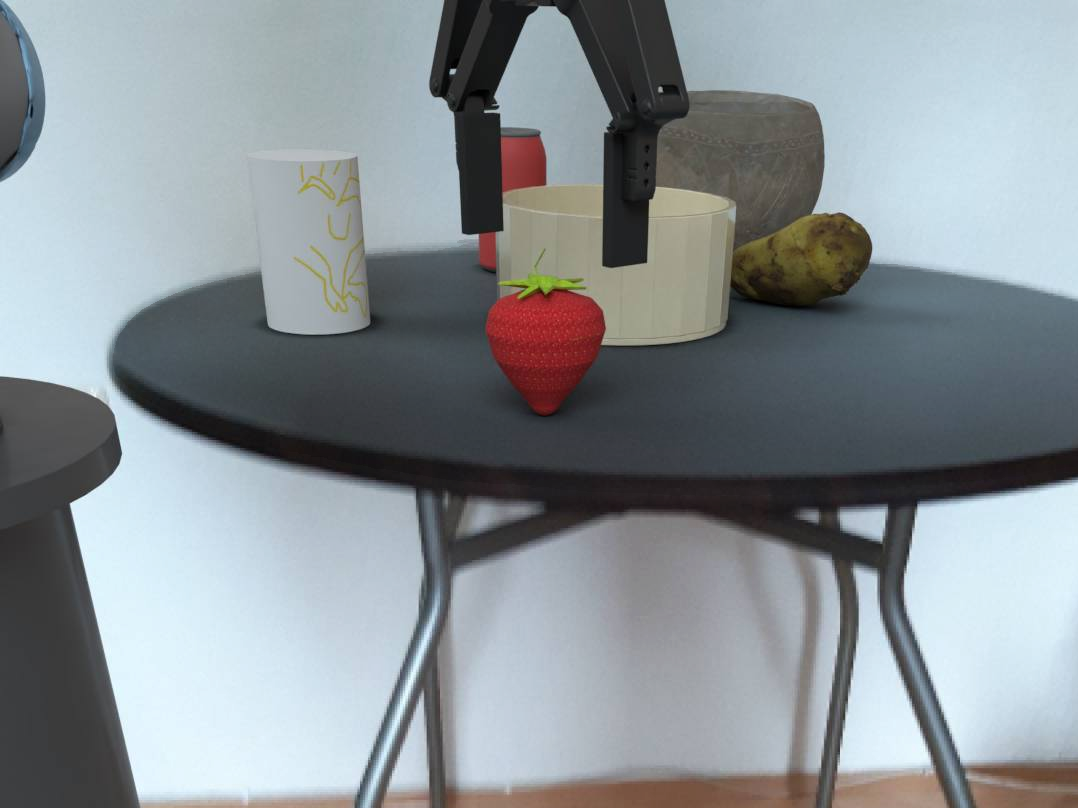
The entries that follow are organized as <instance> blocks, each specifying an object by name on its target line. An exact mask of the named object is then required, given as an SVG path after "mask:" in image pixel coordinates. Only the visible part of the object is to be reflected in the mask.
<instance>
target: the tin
mask: <svg viewBox="0 0 1078 808" xmlns="http://www.w3.org/2000/svg"><path fill="white" fill-rule="evenodd" d="M735 218H736V202H735V201H733V200H731V199H729V198H727V197H723V196H719V195H716V194H711V193H706V192H700V191H694V190H688V189H679V188H670V187H658V186H656V190H655V193H654V197H653V199H651V200H649V226H648V256H647V263H644V264H637V265H630V266H623V267H616V268H608V267H604V266H602V240H603V183H570V184H569V183H568V184H567V183H566V184H547V185H546V186H533V187H526V188H519V189H513V190H509V191H506V192H503V225H504V231H500V232H496V272H497V273H496V302H497V301H498V300H499V299H500V298H502V297H505V296H508V295H511V294H514V293H516V292H519V291H522V290H524V289H526V288H519V287H510V286H504V285H499V282H504V281H514V280H523V279H529V278H528V273H529V274H535V275H536V272H535V269H534V266H535V264H536V262H537V260H538V259H539V257H540V255H541V253H542V252H543V250H544V249H545V248H546V250H545V252H544V254H543V255H542V257H541V259H540V260H539V262H538V264H537V266H536V269H537V272H538V275H541V276H553V277H558V279H578V278H583V281H581V282H577V283H574V284H577V285H580V286H583V287H586V289H582V290H569V291H572V292H575V293H578V294H581V295H584V296H588V297H590V298H592V299H593V300H594V301H595V302H596V303H597V304H598V305H599V307H600V308H601V309H602V310H603V314H604V320H605V326H606V331H605V334H604V337H603V340H602V343H601V346H616V347H617V346H619V347H620V346H623V347H624V346H625V347H626V346H627V347H628V346H637V347H638V346H656V345H668V344H670V345H671V344H678V343H684V342H690V341H691V342H692V341H695V340H700V339H704V338H708V337H710V336H713V335H716V334H718V333H719V332H721V331H723V330H724V329H725V328H726V326H727V323H728V316H729V305H730V293H731V286H730V281H731V268H732V256H733V243H734V230H735Z"/></svg>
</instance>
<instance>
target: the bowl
mask: <svg viewBox="0 0 1078 808" xmlns="http://www.w3.org/2000/svg"><path fill="white" fill-rule="evenodd" d="M659 93H663V91H659ZM687 94H688V98H689V104H690V106H689V111H688V114H687V116H686V117H685V118H682V119H675V120H673V121H671V122H669V123H667V124H665V125H663V127H662V128H661V129H660V131H659V133H658V139H657V164H656V177H655V178H656V186H658V187H670V188H679V189H688V190H694V191H700V192H706V193H711V194H716V195H719V196H723V197H727V198H729V199H731V200H733V201H735V202H736V218H735V230H734V243H733V252H734V251H735V250H736V249H737V248H739V247H741V246H743V245H745V244H747V243H749V242H752V241H754V240H757V239H761V238H763V237H766V236H767V235H771V234H773V233H775V232H777V231H779V230H781V229H783V228H785V227H787V226H788V225H790V224H792V223H793V222H794V221H796V220H798V219H800V218H802V217H805V216H808V215H813V213H814V211H815V208H816V206H817V203H818V201H819V198H820V195H821V191H822V187H823V180H824V173H825V164H826V163H825V159H826V158H825V157H826V154H825V138H824V137H825V136H824V131H823V129H824V128H823V125H822V119H821V116H820V113H819V112H818V109H817V108H816V106H815V105H814V103H812V102H810V101H808V100H804V99H801V98H797V97H792V96H788V95H784V94H779V93H770V92H769V93H768V92H758V91H757V92H756V91H745V90H724V89H723V90H720V89H710V90H709V89H708V90H688V91H687Z"/></svg>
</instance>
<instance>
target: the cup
mask: <svg viewBox="0 0 1078 808" xmlns="http://www.w3.org/2000/svg"><path fill="white" fill-rule="evenodd" d="M358 159H359V157H358V154H356V153H354V152H349V151H345V150H344V151H343V150H332V149H311V148H310V149H309V148H308V149H307V148H286V149H282V148H281V149H269V150H268V149H266V150H259V151H258V150H257V151H252V152H248V153H247V154H246V161H247V168H248V177H249V185H250V192H251V201H252V208H253V217H254V224H255V233H256V234H255V235H256V241H257V249H258V257H259V266H260V272H261V280H262V289H263V297H264V305H265V312H266V322H267V326H268V327H269V328H270V329H272V330H274V331H278V332H281V333H286V334H288V333H289V334H295V335H312V336H313V335H317V336H319V335H321V336H322V335H335V334H345V333H351V332H355V331H360V330H362V329H365V328H367V327H368V326H370V325H371V313H370V311H371V310H370V299H369V287H368V286H369V285H368V275H367V274H368V273H367V261H366V249H365V234H364V222H363V213H362V212H363V210H362V198H361V197H362V196H361V185H360V173H359V160H358Z"/></svg>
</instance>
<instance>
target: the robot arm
mask: <svg viewBox="0 0 1078 808" xmlns="http://www.w3.org/2000/svg"><path fill="white" fill-rule="evenodd" d="M539 7H550V8H551V7H556V9H557V11H558V12H559V13H560V14H561V15H563V16H565V17H566V18H568V20H569V22H570V25H571V26H572V29H573V31H574V34H575V36H576V38H577V40H578V43H579V44H580V46H581V49H582V51H583V53H584V56H585V59H586V60H587V63H588V65H589V67H590V69H591V72H592V74H593V76H594V79H595V82H596V83H597V85H598V87H599V90H600V92H601V94H602V95H601V96H602V98H603V100H604V101H605V103H606V106H607V108H608V110H609V113H610V115H611V117H612V119H611V121H609V123H608V126H606V127H605V129H606V130H607V131H605V132H603V166H602V167H603V171H602V172H603V173H602V174H603V175H602V177H603V178H602V181H603V182H602V184H603V240H602V266H604V267H608V268H616V267H623V266H630V265H637V264H644V263H647V256H648V226H649V200H651V199H653V197H654V193H655V190H656V178H655V177H656V164H657V139H658V133H659V131H660V129H661V128H662V127H663V125H665V124H667V123H669V122H671V121H673V120H675V119H682V118H685V117H686V116H687V114H688V111H689V106H690V104H689V98H688V94H687V92H688V91H687V86H686V82H685V78H684V73H683V70H682V65H681V61H680V58H679V53H678V49H677V46H676V42H675V37H674V33H673V27H672V25H671V21H670V17H669V13H668V9H667V4H666V0H443V4H442V11H441V16H440V21H439V26H438V32H437V36H436V37H437V38H436V43H435V48H434V54H433V58H432V65H431V70H430V74H429V75H430V76H429V81H428V87H429V92H430V94H431V96H432V97H433V98H435V99H436V98H441V99H442V100H444V101H445V102H446V104H447V107H448V110H449V111H450V112H452V113H453V121H454V140H455V141H454V142H455V162H456V166H457V171H458V180H459V182H458V183H459V203H460V224H461V225H460V226H461V234H463V235H466V236H473V235H479V234H483V233H492V232H500V231H504V225H503V190H502V155H501V127H502V126H501V113H500V112H492V111H497V110H499V109H500V105H499V104H498V100H496V98H495V95H496V93H497V90H498V89H499V86H500V84H501V82H502V79H503V77H504V74H505V72H506V69H507V66H508V64H509V62H510V60H511V58H512V55H513V53H514V50H515V48H516V45H517V43H518V40H519V39H520V36H521V33H522V31H523V30H524V26H525V24H526V22H527V19H528V17H529V16H530V15H533V14H535V12H536V11H538V9H539ZM451 70H455V73H451ZM43 73H44V72H43V70H42V65H41V62H40V58H39V56H38V52H37V49H36V47H35V45H34V43H33V40H32V39H31V37H30V35H29V33H28V32H27V29H26V28H25V27H24V24H23V23H22V22H21V20H20V18H19V17H18V15H17V14H16V13H15V11H13V9H12V8H11V7H10V6H9V5H8V4H7V3H6V2H5V0H0V183H2V182H4V181H6V180H7V179H9V178H11V177H12V176H14V175H15V174H16V173H17V172H18V171H19V170H21V168H22V167H24V165H25V164H26V163H27V162H28V161H29V158H30V157H31V156H32V154H33V152H34V150H35V149H36V146H37V143H38V141H39V139H40V137H41V134H42V131H43V128H44V122H45V117H46V116H45V114H46V86H45V78H44V74H43ZM659 88H661V91H662V92H663V93H659V92H660V91H659ZM485 111H491V112H485ZM2 426H3V424H2V420H1V416H0V431H1V429H2Z"/></svg>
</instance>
